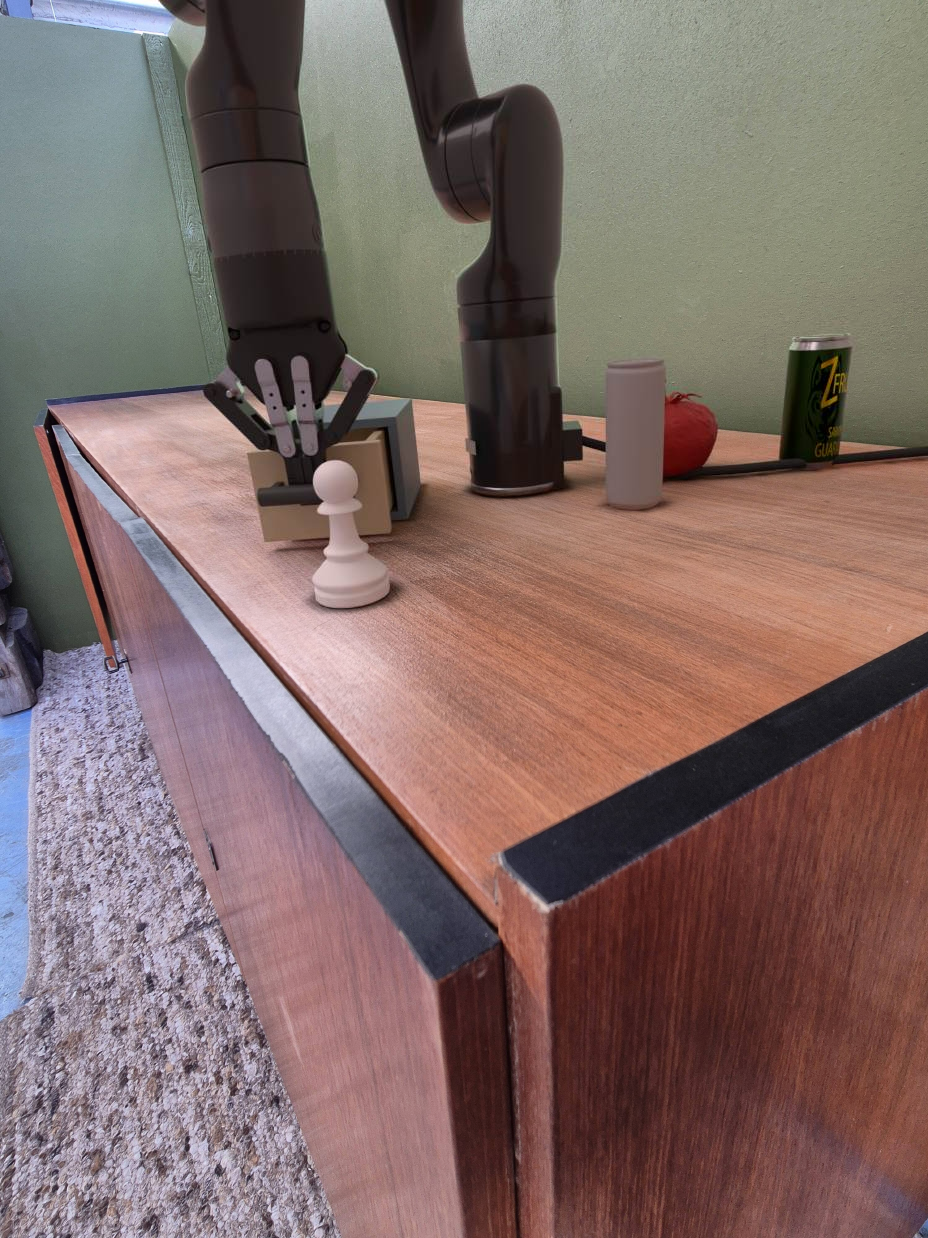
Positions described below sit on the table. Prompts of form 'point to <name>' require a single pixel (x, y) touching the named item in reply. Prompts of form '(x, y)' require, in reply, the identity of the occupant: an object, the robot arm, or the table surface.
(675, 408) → the red round piece
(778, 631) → the table surface
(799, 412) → the green soda can
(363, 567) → the chess pawn
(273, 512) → the drawer
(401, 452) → the cabinet
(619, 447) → the beverage can
